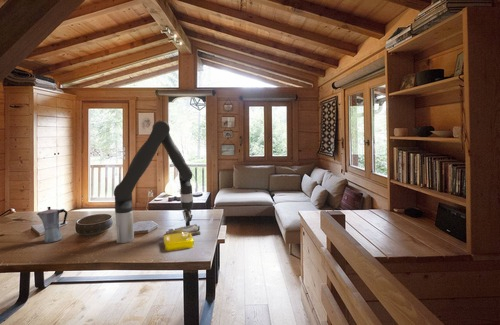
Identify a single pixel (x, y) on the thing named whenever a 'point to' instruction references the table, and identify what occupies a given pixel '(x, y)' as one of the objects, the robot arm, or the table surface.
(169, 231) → the tong fixed arm
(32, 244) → the table surface
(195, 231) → the tong board
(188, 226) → the tong swing arm
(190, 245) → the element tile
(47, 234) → the moka pot
